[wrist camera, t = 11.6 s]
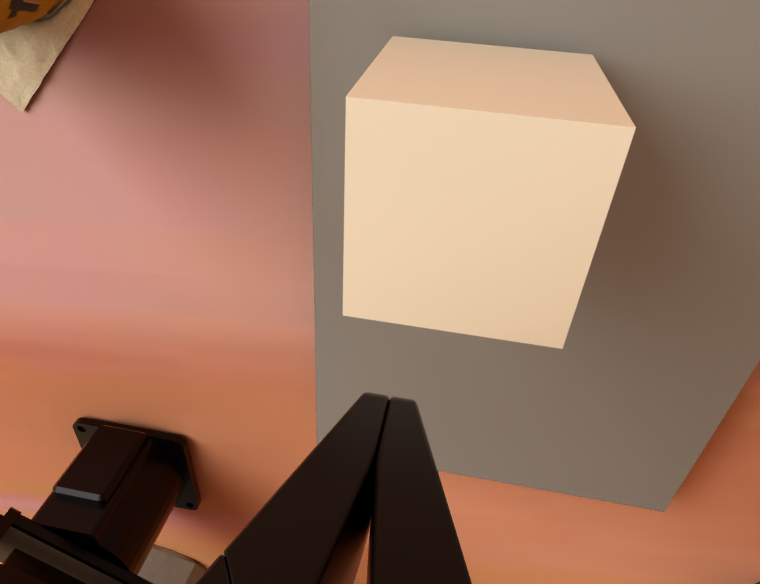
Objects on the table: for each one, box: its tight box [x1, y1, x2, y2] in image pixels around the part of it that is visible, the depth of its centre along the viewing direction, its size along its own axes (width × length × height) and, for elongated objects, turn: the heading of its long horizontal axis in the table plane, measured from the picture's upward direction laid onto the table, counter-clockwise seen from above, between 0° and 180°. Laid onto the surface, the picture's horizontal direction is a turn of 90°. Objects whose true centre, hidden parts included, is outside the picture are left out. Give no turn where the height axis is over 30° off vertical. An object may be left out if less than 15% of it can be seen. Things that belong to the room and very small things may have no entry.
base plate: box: [309, 0, 760, 512], centre depth 20 cm, size 22×16×2 cm
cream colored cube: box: [343, 36, 636, 349], centre depth 14 cm, size 5×5×6 cm
